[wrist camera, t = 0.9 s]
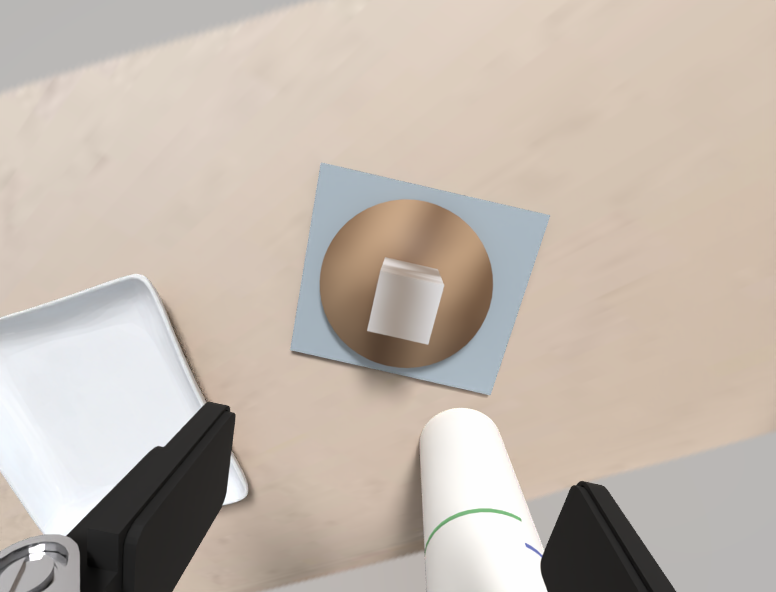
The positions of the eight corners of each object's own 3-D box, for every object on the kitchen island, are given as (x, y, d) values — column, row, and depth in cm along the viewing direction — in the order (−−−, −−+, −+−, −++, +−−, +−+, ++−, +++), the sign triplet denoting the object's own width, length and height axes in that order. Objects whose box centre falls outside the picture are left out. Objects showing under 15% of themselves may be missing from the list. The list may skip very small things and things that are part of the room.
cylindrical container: (459, 491, 35) (576, 1159, 11) (402, 444, 34) (390, 1066, 10) (518, 443, 33) (809, 1106, 9) (460, 392, 32) (614, 987, 8)
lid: (512, 221, 28) (539, 229, 22) (464, 377, 31) (477, 419, 26) (338, 181, 28) (320, 178, 22) (309, 343, 31) (287, 377, 25)
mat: (547, 215, 28) (550, 215, 28) (489, 392, 32) (490, 395, 32) (322, 163, 28) (320, 162, 27) (292, 347, 32) (290, 350, 31)
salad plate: (74, 517, 39) (43, 548, 35) (-43, 327, 33) (-93, 342, 30) (266, 473, 36) (252, 502, 33) (170, 260, 31) (141, 269, 28)
